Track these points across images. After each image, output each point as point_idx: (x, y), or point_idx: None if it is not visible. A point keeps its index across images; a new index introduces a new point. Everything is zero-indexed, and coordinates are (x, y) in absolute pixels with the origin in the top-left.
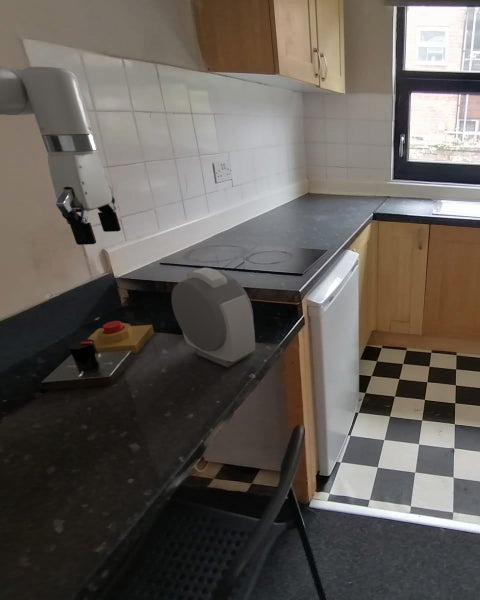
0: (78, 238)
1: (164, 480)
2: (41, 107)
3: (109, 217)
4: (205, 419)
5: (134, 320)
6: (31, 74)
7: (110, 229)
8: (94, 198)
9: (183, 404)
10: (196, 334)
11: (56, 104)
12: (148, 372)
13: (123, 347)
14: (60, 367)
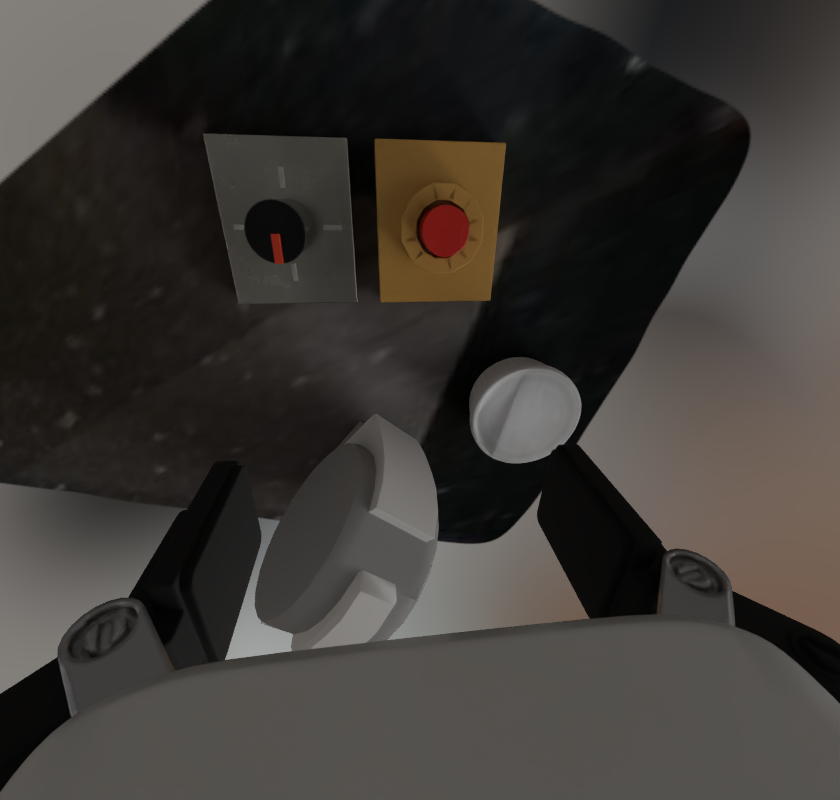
0: (178, 524)
1: (12, 482)
2: None
3: (586, 569)
4: (153, 490)
5: (579, 206)
6: None
7: (547, 491)
8: None
9: (188, 450)
10: (315, 484)
11: None
12: (293, 353)
13: (379, 272)
14: (278, 146)
